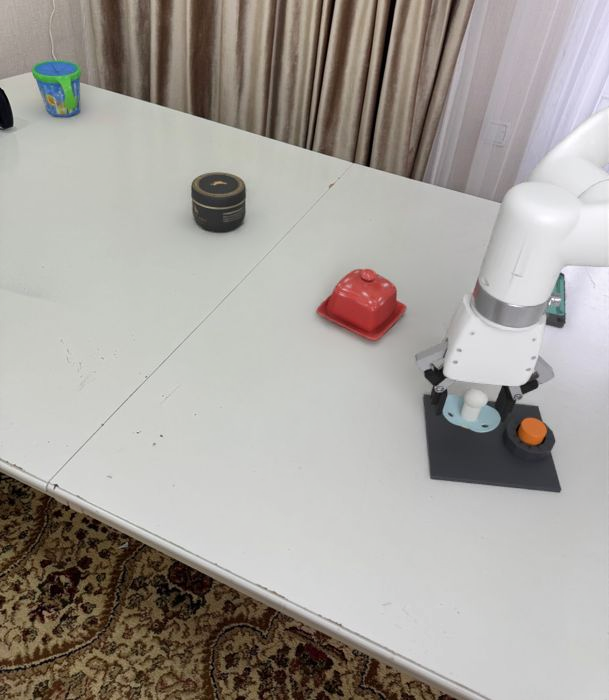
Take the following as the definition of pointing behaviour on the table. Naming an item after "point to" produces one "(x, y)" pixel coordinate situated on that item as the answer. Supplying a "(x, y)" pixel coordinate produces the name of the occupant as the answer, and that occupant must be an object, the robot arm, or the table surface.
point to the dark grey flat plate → (490, 452)
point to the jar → (218, 201)
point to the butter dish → (363, 304)
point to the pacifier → (471, 411)
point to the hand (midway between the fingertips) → (468, 409)
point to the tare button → (532, 431)
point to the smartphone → (557, 313)
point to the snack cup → (59, 86)
